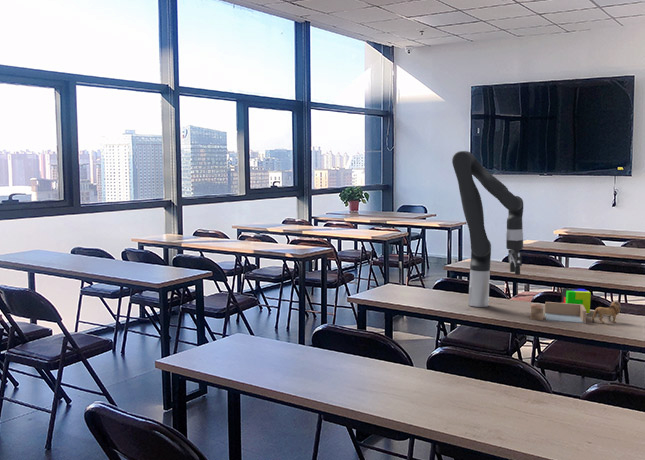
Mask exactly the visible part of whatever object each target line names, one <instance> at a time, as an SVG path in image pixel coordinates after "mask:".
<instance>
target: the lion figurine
mask: <svg viewBox="0 0 645 460" xmlns="http://www.w3.org/2000/svg"><path fill="white" fill-rule="evenodd" d="M621 308H622V306H621V303H620V302H619V301H617V300H614V301H612V302H611V303H610V306H609V307H602V306H598V307H596V308H595V310H594V312H593V315H592V317H591V323H595V318H596V317H598V316H599V318H598V320H599V321H600V323H601V324H605V321H603V318H604V316H605V317H607V322H609V321H611V322H612V323H614V324H616V323H617V321H616V319H617V316H618V315H619V314H620V311H621ZM611 317H612V319H611Z"/></svg>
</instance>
